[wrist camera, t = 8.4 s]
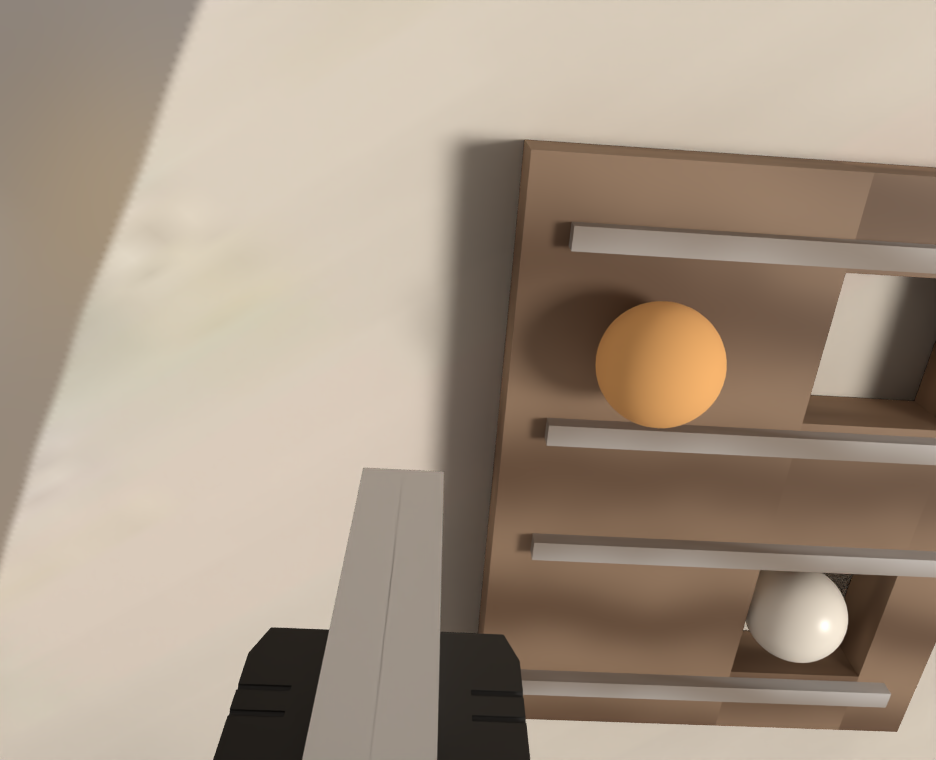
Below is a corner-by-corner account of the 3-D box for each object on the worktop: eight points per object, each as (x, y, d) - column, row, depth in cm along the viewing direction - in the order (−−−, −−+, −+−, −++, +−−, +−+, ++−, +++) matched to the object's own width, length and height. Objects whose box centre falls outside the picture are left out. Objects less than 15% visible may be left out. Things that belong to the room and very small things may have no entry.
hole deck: (868, 687, 36) (904, 743, 33) (473, 672, 35) (475, 728, 32) (1071, 176, 26) (1147, 193, 23) (524, 139, 25) (533, 152, 22)
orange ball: (691, 397, 26) (729, 454, 22) (579, 391, 26) (599, 448, 22) (714, 288, 24) (760, 331, 21) (594, 281, 24) (619, 323, 21)
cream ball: (828, 699, 29) (726, 659, 31) (834, 634, 33) (741, 600, 34) (860, 625, 28) (749, 586, 29) (862, 563, 31) (763, 531, 32)
